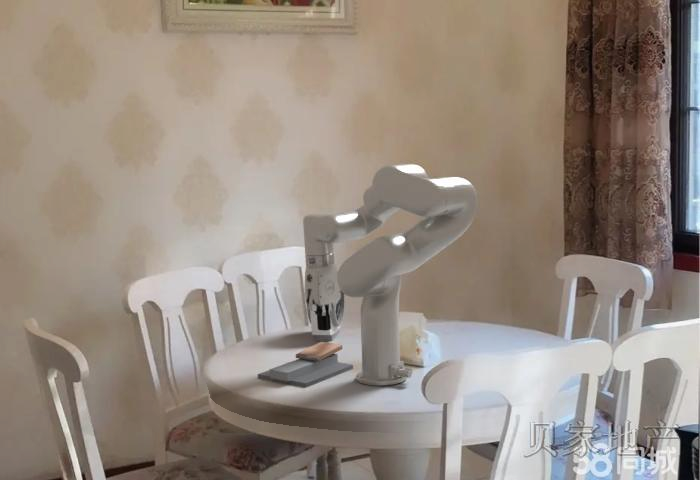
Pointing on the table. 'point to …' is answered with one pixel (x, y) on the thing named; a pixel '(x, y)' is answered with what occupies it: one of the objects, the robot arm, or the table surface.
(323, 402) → the table surface
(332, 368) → the grey ridged base plate
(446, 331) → the table surface
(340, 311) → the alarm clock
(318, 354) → the flap
